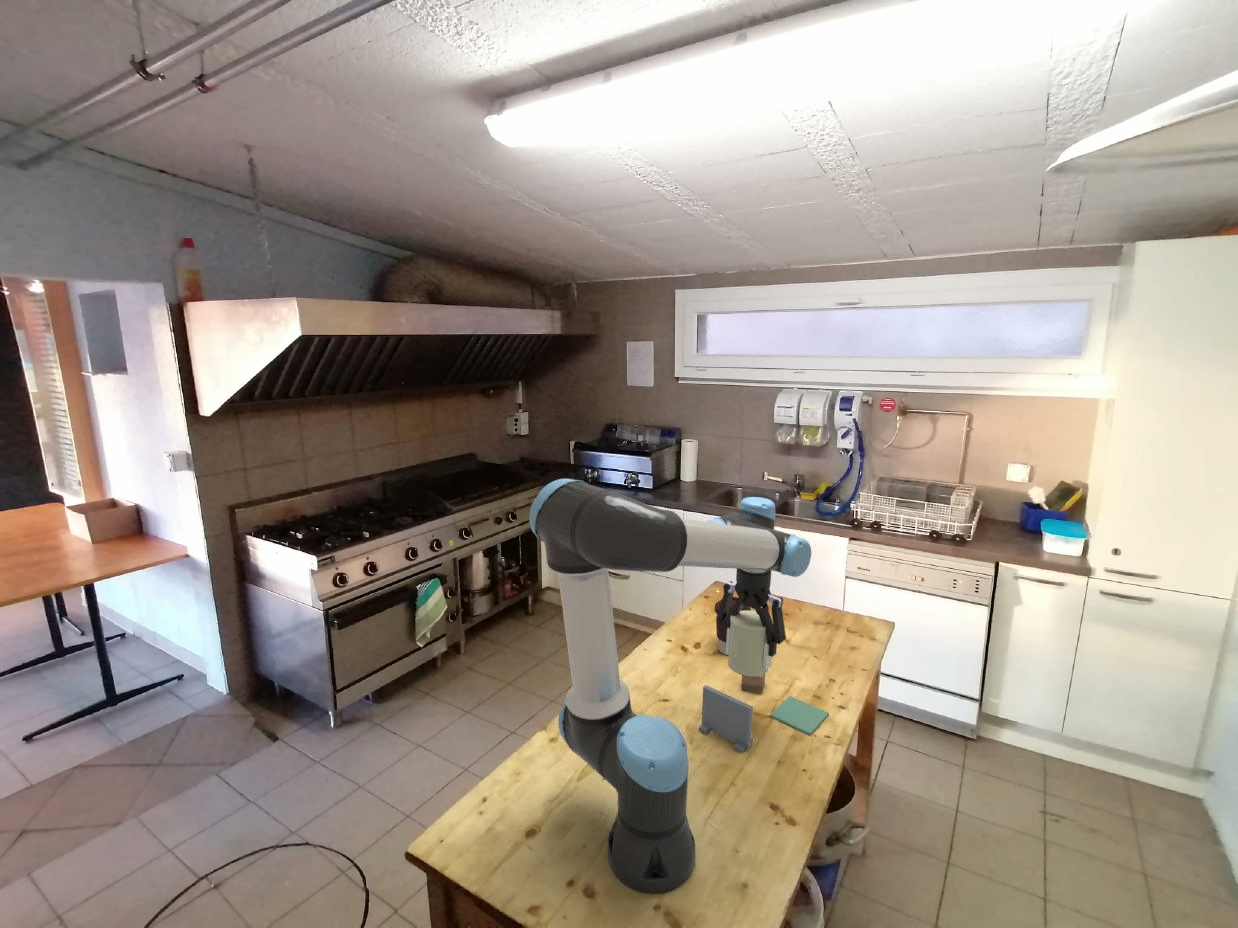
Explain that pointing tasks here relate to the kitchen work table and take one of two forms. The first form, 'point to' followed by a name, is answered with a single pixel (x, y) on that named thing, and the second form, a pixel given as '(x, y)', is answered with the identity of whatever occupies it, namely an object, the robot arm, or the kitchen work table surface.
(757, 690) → the letter cube
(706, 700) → the screen
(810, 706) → the mat
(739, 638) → the can
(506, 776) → the kitchen work table surface
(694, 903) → the kitchen work table surface
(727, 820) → the kitchen work table surface
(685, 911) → the kitchen work table surface
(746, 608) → the coffee cup
